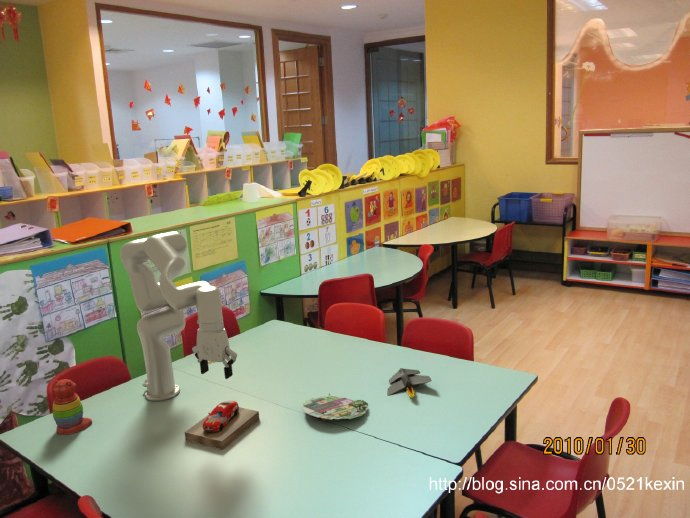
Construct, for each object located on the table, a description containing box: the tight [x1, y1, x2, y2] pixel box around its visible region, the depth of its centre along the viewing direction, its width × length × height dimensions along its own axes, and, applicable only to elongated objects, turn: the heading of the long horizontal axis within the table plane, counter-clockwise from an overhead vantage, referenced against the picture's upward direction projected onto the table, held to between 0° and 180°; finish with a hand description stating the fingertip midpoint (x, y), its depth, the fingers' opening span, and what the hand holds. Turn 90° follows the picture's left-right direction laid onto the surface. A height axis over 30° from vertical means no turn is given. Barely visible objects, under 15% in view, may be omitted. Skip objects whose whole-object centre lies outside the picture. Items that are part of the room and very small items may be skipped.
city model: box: [301, 392, 369, 423], centre depth 199 cm, size 25×23×6 cm
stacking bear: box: [52, 378, 93, 436], centre depth 197 cm, size 11×10×18 cm
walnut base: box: [184, 406, 260, 451], centre depth 192 cm, size 15×20×3 cm
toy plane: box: [386, 367, 432, 399], centre depth 215 cm, size 25×17×5 cm
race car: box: [203, 400, 240, 432], centre depth 191 cm, size 16×7×5 cm, turn 160°
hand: (216, 374), depth 187 cm, fingers open, 9 cm apart
